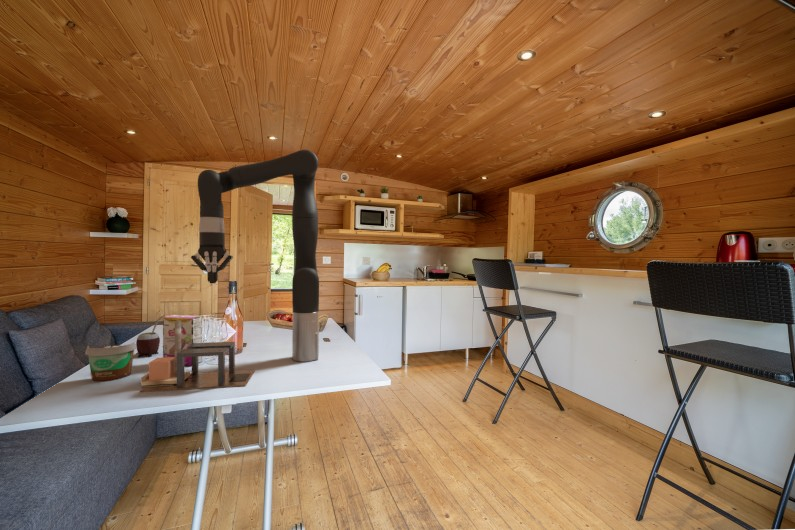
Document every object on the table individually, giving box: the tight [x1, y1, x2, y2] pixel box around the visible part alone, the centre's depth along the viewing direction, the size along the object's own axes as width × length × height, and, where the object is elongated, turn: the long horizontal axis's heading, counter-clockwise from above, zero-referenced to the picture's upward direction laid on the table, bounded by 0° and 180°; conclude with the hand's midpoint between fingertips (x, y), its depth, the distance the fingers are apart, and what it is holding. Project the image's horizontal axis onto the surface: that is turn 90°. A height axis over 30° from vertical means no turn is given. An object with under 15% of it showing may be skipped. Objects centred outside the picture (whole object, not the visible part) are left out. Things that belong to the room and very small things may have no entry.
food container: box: [84, 341, 137, 383], centre depth 104 cm, size 12×6×10 cm, turn 117°
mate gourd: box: [135, 314, 166, 358], centre depth 129 cm, size 8×8×15 cm
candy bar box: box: [162, 314, 203, 367], centre depth 119 cm, size 11×5×16 cm, turn 84°
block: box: [148, 356, 175, 380], centre depth 101 cm, size 5×5×5 cm
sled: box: [140, 321, 191, 386], centre depth 101 cm, size 10×7×17 cm
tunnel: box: [139, 341, 256, 393], centre depth 103 cm, size 27×13×10 cm, turn 101°
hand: (212, 283), depth 117 cm, fingers closed
